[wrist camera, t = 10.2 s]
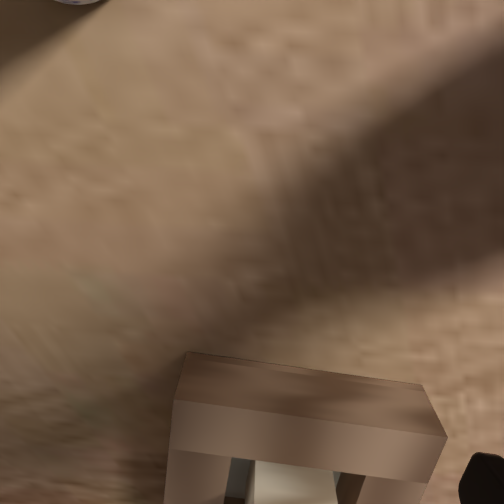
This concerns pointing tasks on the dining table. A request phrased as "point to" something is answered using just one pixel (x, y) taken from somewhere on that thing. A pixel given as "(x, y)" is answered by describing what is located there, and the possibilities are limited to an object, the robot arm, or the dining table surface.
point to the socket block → (298, 431)
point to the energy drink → (77, 1)
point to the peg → (288, 484)
